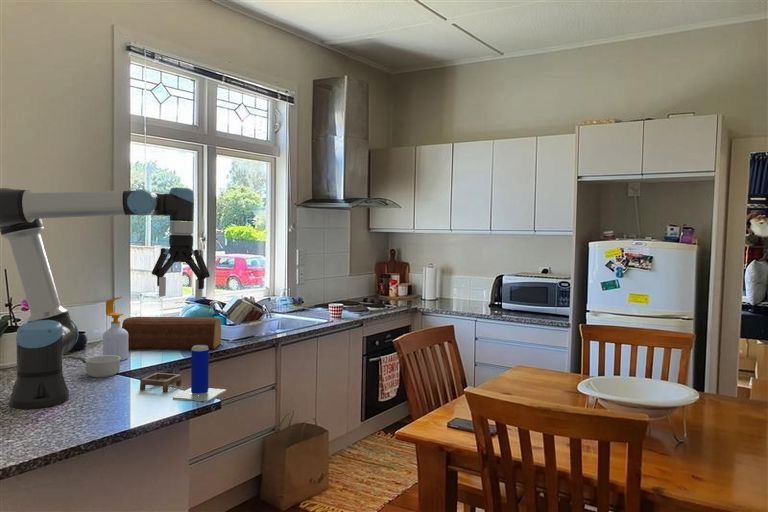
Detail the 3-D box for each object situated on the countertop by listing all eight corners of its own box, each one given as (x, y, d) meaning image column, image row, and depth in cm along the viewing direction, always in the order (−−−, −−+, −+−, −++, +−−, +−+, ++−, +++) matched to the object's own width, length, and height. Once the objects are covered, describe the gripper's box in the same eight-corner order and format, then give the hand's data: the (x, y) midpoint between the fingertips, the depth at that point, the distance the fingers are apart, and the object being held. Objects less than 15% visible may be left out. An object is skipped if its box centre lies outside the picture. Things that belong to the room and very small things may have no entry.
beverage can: (202, 389, 184) (202, 343, 183) (211, 393, 181) (212, 346, 180) (187, 393, 180) (188, 346, 179) (197, 396, 177) (197, 348, 176)
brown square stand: (166, 392, 182) (166, 381, 182) (139, 390, 183) (140, 379, 183) (181, 385, 191) (181, 374, 191) (156, 383, 193) (156, 372, 192)
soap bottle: (118, 362, 219) (118, 298, 218) (97, 360, 221) (97, 297, 220) (133, 357, 228) (133, 296, 227) (113, 355, 230) (113, 295, 229)
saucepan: (79, 367, 211) (79, 352, 210) (127, 371, 207) (127, 356, 206) (56, 375, 199) (56, 359, 199) (106, 379, 195) (106, 363, 195)
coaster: (208, 402, 173) (208, 400, 173) (172, 399, 176) (172, 397, 176) (226, 391, 185) (226, 389, 185) (192, 388, 187) (192, 386, 187)
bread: (214, 351, 244) (214, 320, 243) (120, 350, 241) (120, 319, 240) (221, 343, 259) (222, 314, 259) (133, 343, 256) (133, 313, 255)
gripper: (221, 235, 191) (219, 298, 192) (155, 232, 197) (154, 294, 198) (209, 235, 184) (207, 301, 185) (141, 232, 189) (140, 296, 190)
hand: (180, 297), depth 191 cm, fingers open, 13 cm apart
